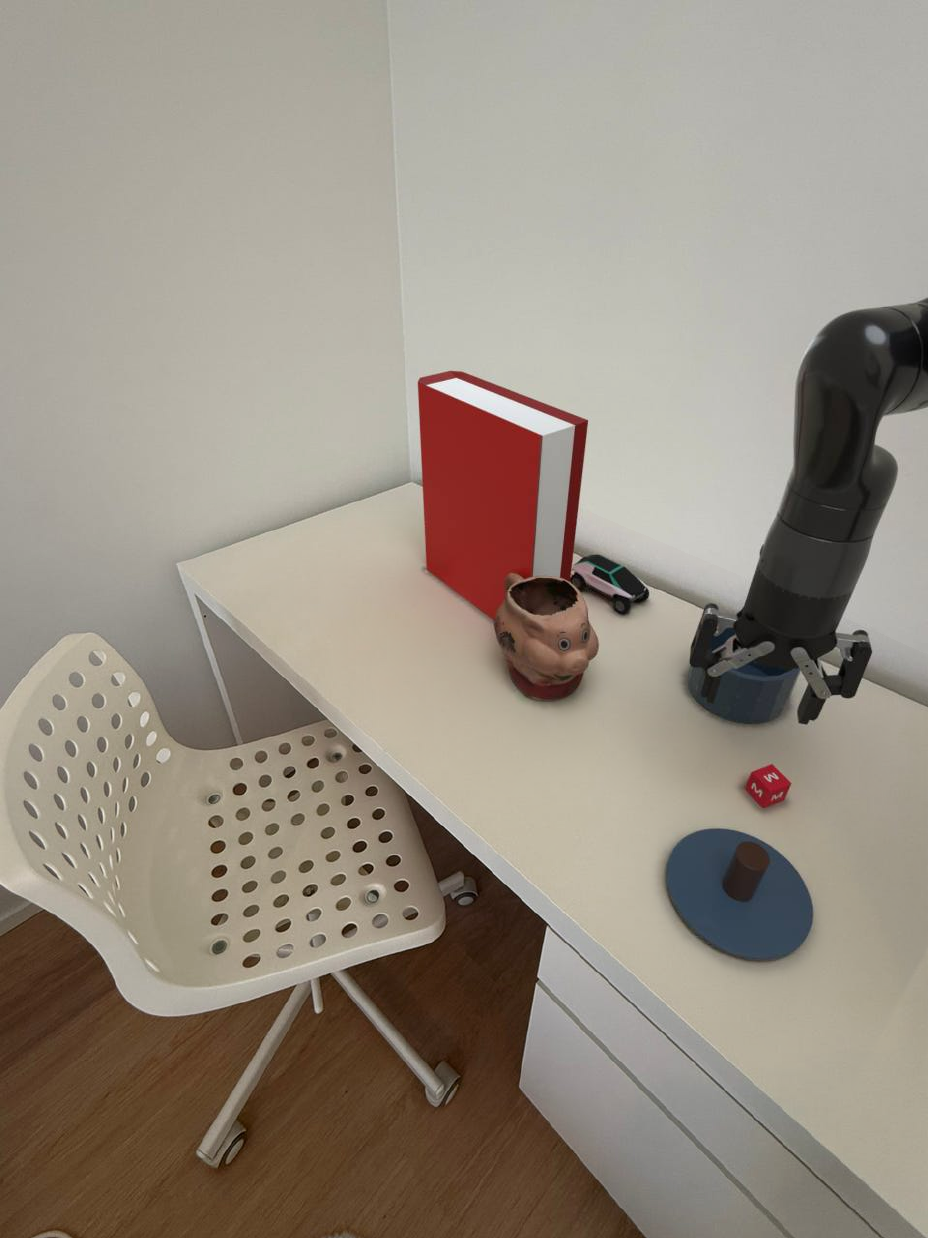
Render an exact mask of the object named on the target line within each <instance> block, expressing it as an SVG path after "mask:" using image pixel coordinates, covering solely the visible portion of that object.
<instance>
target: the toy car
mask: <svg viewBox="0 0 928 1238" xmlns="http://www.w3.org/2000/svg"><path fill="white" fill-rule="evenodd" d="M572 571H574V572H573V574H571V578H570V583H571V584H573V585H574V586H575V587H576V588H577V589H578V590H579V591H582V590H584V589H585V588H586V587H588V588H590V589H591V590H594V591H596V592H598V593H600V594H601V595H603V596H605V597H606V598H609V599H611V600H612V606H613V608H614V610H615V612H617V613H619V614H621V615H624V614H627V613H628V612H629V611H630V610H631V607H632V605H631V603H633V602H634V601H637V602H640V603H641V602H642V603H643V602H645V601H647V600H648V599H649V597H650V591H649V589H648V585H647V584H646V583H645V582H644V581H643V580H641V579H640V578H638V577H637V576H635V574H633V573H632V571H630V570H629V569H628V568H627V567H626V566H624V565H622V564H620V563H618V562H616V561H613V560H612V559H610V558H608V557H606V556H603V554H602V555H601V554H590V555H588V556H583V557H581V558H580V559H579V560H578V561H577V562H575V563H572V570H571V572H572Z"/></svg>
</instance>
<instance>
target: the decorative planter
mask: <svg viewBox="0 0 928 1238" xmlns="http://www.w3.org/2000/svg"><path fill="white" fill-rule="evenodd" d="M504 583H505V600H504V602H503V603H502V604H501V606H500V607H499V608H498V610H497V612H496V615H495V619H494V620H493V628H494V633H495V637H496V641H497V643H498V645H499V647H500V649H501V652H502V655H503V658H504V660H505V663H506V664H507V667H508V671H509V676H510V677H511V678H510V679H511V680H512V682H513V683H514V685H515V686H516V687H517V689H519V690H520V691H521V692H522V693H523V695H524V696H526V697H529V698H532V699H534V700H539V701H555V700H556V701H557V700H560V699H561V700H562V699H564V698H566V697H569V696H570V695H572V694H573V693H574V692H576V691H577V689H578V688H579V687H580V685H581V682H582V680H583V677H584V673H585V672H586V670H587V669H588V667H589V663H590V661H591V660H593V659H594V658H595V657H597V655H598V653H599V647H600V643H599V637H598V635H597V633H596V631H595V630H594V627H593V626H592V625H591V623H590V620H589V608H588V605H587V602H586V600H585V599H584V597H583V595H582V593H581V590H578V589H577V588H576V587H575V586H574V585H573V584H571V582H569V581H567V580H565V579H563V578H560V577H555V576H534V577H529V578H526V579H524V578H523V577H522V576H520V575H518V574H515V573H510V574H509V575H508V576H507V578H506V580H505V581H504Z"/></svg>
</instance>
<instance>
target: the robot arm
mask: <svg viewBox="0 0 928 1238" xmlns="http://www.w3.org/2000/svg"><path fill="white" fill-rule="evenodd" d="M793 405H794V406H793V407H794V408H793V436H792V449H793V451H792V454H793V456H792V457H793V458H792V459H793V460H792V468H791V471H790V473H789V476H788V478H787V481H786V484H785V487H784V490H783V494H782V495H781V496H782V497H781V500H780V502H779V506H778V509H777V511H776V514H775V516H774V519H773V520H772V523H771V525H770V527H769V529H768V531H767V533H766V536H765V539H764V542H763V544H762V545H761V547H760V550H759V554H758V555H759V558H758V560H757V564H756V567H755V570H754V574H753V576H752V579H751V583H750V586H749V589H748V592H747V596H746V599H745V602H744V605H743V607H742V608H741V609H740V610H739V611H738V612H737V613H736V614H734V613H730V612H727V611H722V610H719V606H718V605H717V604H716V603H712V602H710V603H707V604H706V605H705V606H704V609H703V611H702V614H701V616H700V619H699V622H698V624H697V628H696V631H695V633H694V637H693V638H692V642H691V645H690V650H689V666H692V667H694V668H699V667H701V668H703V669H704V670H705V672H704V675H703V678H702V682H701V691H700V693H701V697H705V698H706V699H705V703H708V704H713V703H714V700H715V697H716V694H717V690H718V687H719V684H720V681H721V674H723V673H725V672H727V671H728V670H730V669H732V668H735V669H738V668H740V667H742V666H743V665H745V664H747V663H749V662H751V661H752V660H753V661H755V664H757V665H762V666H775V667H777V668H780V669H782V670H787V671H792V669H797V668H800V670H801V672H800V673H801V674H802V675H803V677H804V679H805V681H806V683H807V686H806V688H805V691H804V693H803V695H802V698H801V700H800V702H799V704H798V707H797V709H796V710H797V712H796V713H797V714H796V715H797V722H798V724H801V725H806V726H807V725H808V724H809V723H810V721H813V722H814V721H816V720H817V719H818V718H819V716H820V714H821V712H822V710H823V707H824V705H825V704H826V701H827V699H829V698H830V697H833V696H840V697H841V698H843V699H852V698H854V697H855V696H856V695H857V692H858V690H859V688H860V684H861V682H862V679H863V677H864V674H865V672H866V670H867V667H868V664H869V661H870V659H871V657H872V654H873V648H872V645H871V641H870V637H869V633H868V632H867V631H866V630H865V629H864V630H863V629H857V630H855V631H853V632H852V634H849V633H842V632H841V633H840V632H837V629H838V627H839V625H840V622H841V621H842V618H843V617H844V614H845V611H846V609H847V606H848V604H849V602H850V601H851V597H852V596H853V593H854V591H855V589H856V586H857V584H858V583H859V579H860V578H861V575H862V572H863V570H864V568H865V566H866V562H867V560H868V558H869V555H870V551H871V546H872V543H873V538H874V536H875V533H876V530H877V528H878V526H879V523H880V521H881V518H882V517H883V514H884V511H885V510H886V507H887V505H888V503H889V501H890V498H891V497H892V494H893V491H894V489H895V486H896V483H897V479H898V478H897V477H898V474H899V465H898V462H897V459H896V458H895V457H894V455H893V454H892V453H891V452H890V451H888V450H887V449H886V448H884V447H882V446H880V445H877V444H876V436H877V432H878V429H879V426H880V423H881V422H882V420H883V418H884V417H889V416H893V415H900V414H906V413H910V412H916V411H921V410H923V409H927V408H928V297H925V298H923V299H920V300H917V301H915V302H912V303H902V304H895V305H888V306H880V307H879V306H878V307H877V306H876V307H868V308H860V309H854V310H850V311H847V312H845V313H842V314H840V315H837V316H836V317H834V318H833V319H831V320H830V321H829V322H827V323H826V324H825V325H824V326H823V327H822V328H821V329H819V331H818V333H817V334H816V335H815V336H814V338H812V340H811V342H810V343H809V345H808V347H807V348H806V350H805V352H804V354H803V357H802V358H801V361H800V363H799V367H798V370H797V374H796V379H795V386H794V403H793ZM727 628H733V631H734V633H735V635H734V636H732V637H731V638H729V639H728V640H727V641H726V643H725V644H724V645H722V646H721V647H719V648H717V649H716V650H714V651H712V652H711V651H709V650H708V649H709V646H710V644H711V641H712V638H713V636H719V634H722V633H723V631H724V630H725V629H727ZM742 648H743V649H742ZM835 648H837V649H839V651H840V656H841V657H842V661H841V664H840V667H839V669H838V671H837V674H831V675H829V674H828V672H827V670H826V669H825V667H824V665H823V663H822V662H821V657H823V656H825V655H826V654H828V653H830V652H832V651H834V650H835ZM741 649H742V650H741Z"/></svg>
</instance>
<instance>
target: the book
mask: <svg viewBox="0 0 928 1238" xmlns="http://www.w3.org/2000/svg"><path fill="white" fill-rule="evenodd" d="M417 397H418V417H419V418H418V419H419V420H418V421H419V437H420V439H419V440H420V458H421V459H420V461H421V462H420V463H421V478H422V479H421V480H422V502H423V504H422V505H423V521H424V541H425V542H424V544H425V560H426V561H425V563H426V570H427V571H428V572H429V573H430V574H432V575H433V576H434V577H436V578H437V579H439V580H440V581H441V582H443V584H445V585H446V586H448V587H450V588H451V589H452V590H453V591H454V592H456V593H457V594H458V595H460V596H461V597H462V598H464V599H465V600H466V601H468V602H469V603H471V605H473V606H474V607H476V608H477V609H479V611H481V612H482V613H484V614H485V615H486V616H488V617H489V618H490V619H491V620H493V621H494V619H495V615H496V612H497V610H498V608H499V607H500V606H501V604H502V603H503V602H504V600H505V583H504V581H505V580H506V578H507V576H508V575H509V574H510V573H515V574H518V575H520V576H522V577H523V578H524V579H526V578H529V577H534V576H555V577H560V578H563V579H565V580H567V581H569V582H570V578H571V576H572V567H573V560H574V552H575V551H574V550H575V542H576V533H577V523H578V516H579V507H580V498H581V497H580V496H581V490H582V480H583V470H584V463H585V462H584V461H585V454H586V445H587V435H588V426H589V419H586V418H584V417H582V416H579V415H576V414H573V413H571V412H568V411H565V410H563V409H561V408H558V407H555V406H554V405H550V404H547V403H545V402H542V401H539V400H537V399H535V398H532V397H530V396H526V395H524V394H522V393H519V392H516V391H513V390H511V389H509V388H506V387H503V386H500V385H498V384H496V383H493V382H491V381H488V380H485V379H483V378H480V377H478V376H475V375H473V374H469V373H467V372H465V371H461V370H448V371H443V372H439V373H435V374H430V375H426V376H421V377H419V378H418V380H417ZM570 583H571V582H570Z"/></svg>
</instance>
